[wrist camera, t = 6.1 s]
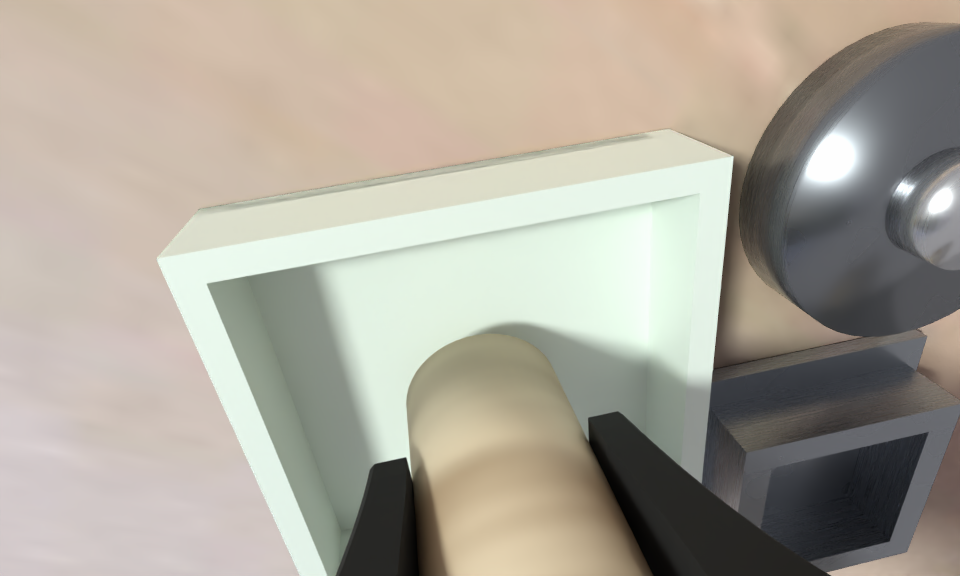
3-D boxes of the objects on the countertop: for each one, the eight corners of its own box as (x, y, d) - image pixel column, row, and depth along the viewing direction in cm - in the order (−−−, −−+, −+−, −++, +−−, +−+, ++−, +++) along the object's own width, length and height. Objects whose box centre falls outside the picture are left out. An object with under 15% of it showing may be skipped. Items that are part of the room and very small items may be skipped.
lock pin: (566, 432, 14) (750, 849, 7) (429, 472, 14) (481, 938, 7) (544, 315, 12) (760, 717, 5) (386, 359, 12) (399, 831, 5)
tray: (656, 459, 17) (697, 527, 15) (326, 534, 16) (318, 618, 14) (669, 128, 12) (733, 156, 10) (198, 209, 11) (156, 259, 9)
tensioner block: (857, 510, 20) (910, 566, 18) (676, 554, 19) (710, 617, 17) (912, 327, 16) (988, 373, 14) (688, 374, 16) (735, 429, 14)
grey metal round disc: (957, 276, 16) (1066, 327, 13) (727, 323, 15) (795, 386, 13) (1048, 1, 12) (1216, 0, 10) (756, 47, 12) (857, 60, 9)
